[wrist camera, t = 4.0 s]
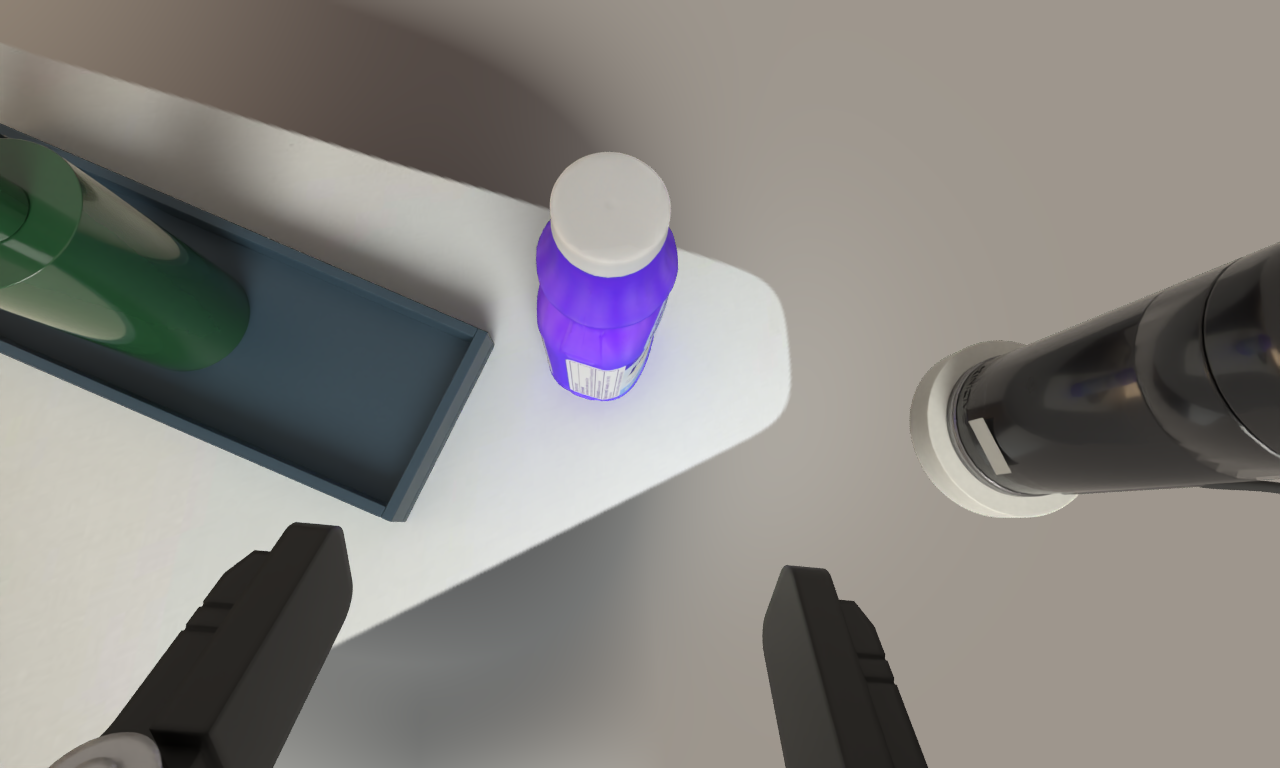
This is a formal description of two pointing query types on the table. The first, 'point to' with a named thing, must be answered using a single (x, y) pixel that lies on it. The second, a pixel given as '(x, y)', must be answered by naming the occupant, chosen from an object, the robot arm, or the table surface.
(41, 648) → the table surface
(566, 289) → the bottle
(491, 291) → the table surface
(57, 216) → the green bottle
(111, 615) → the table surface
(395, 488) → the tray
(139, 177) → the table surface
